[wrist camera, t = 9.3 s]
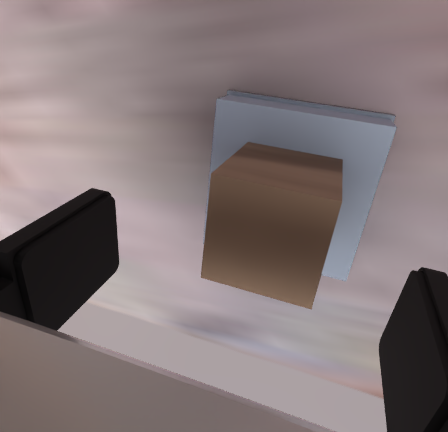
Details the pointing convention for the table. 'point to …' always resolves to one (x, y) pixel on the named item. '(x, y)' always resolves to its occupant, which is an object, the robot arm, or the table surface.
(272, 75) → the table surface
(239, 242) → the walnut block
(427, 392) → the robot arm
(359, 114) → the base block
